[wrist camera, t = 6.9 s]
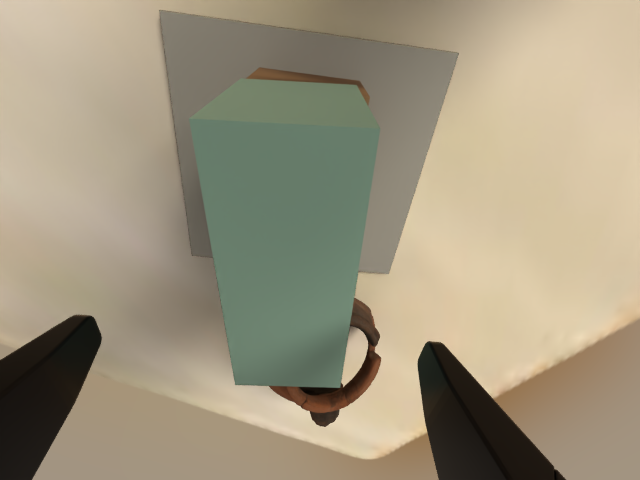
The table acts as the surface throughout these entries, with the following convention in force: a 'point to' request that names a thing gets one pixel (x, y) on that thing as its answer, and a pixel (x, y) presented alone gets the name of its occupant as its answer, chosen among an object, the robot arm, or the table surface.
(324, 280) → the lintel
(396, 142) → the build mat
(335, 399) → the brown curved piece
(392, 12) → the table surface
